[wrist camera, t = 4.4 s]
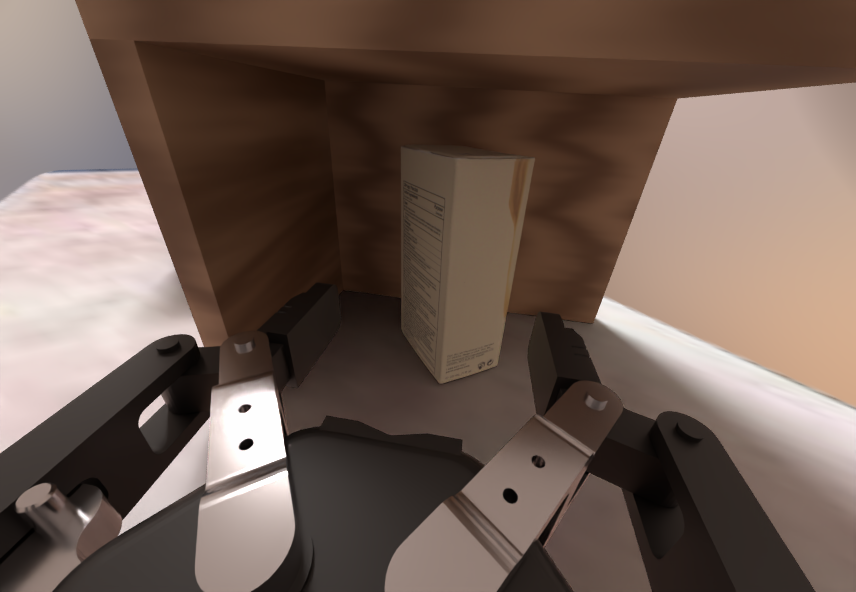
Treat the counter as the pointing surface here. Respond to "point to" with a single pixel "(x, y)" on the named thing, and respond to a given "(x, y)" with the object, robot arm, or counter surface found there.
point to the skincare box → (459, 252)
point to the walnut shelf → (420, 125)
